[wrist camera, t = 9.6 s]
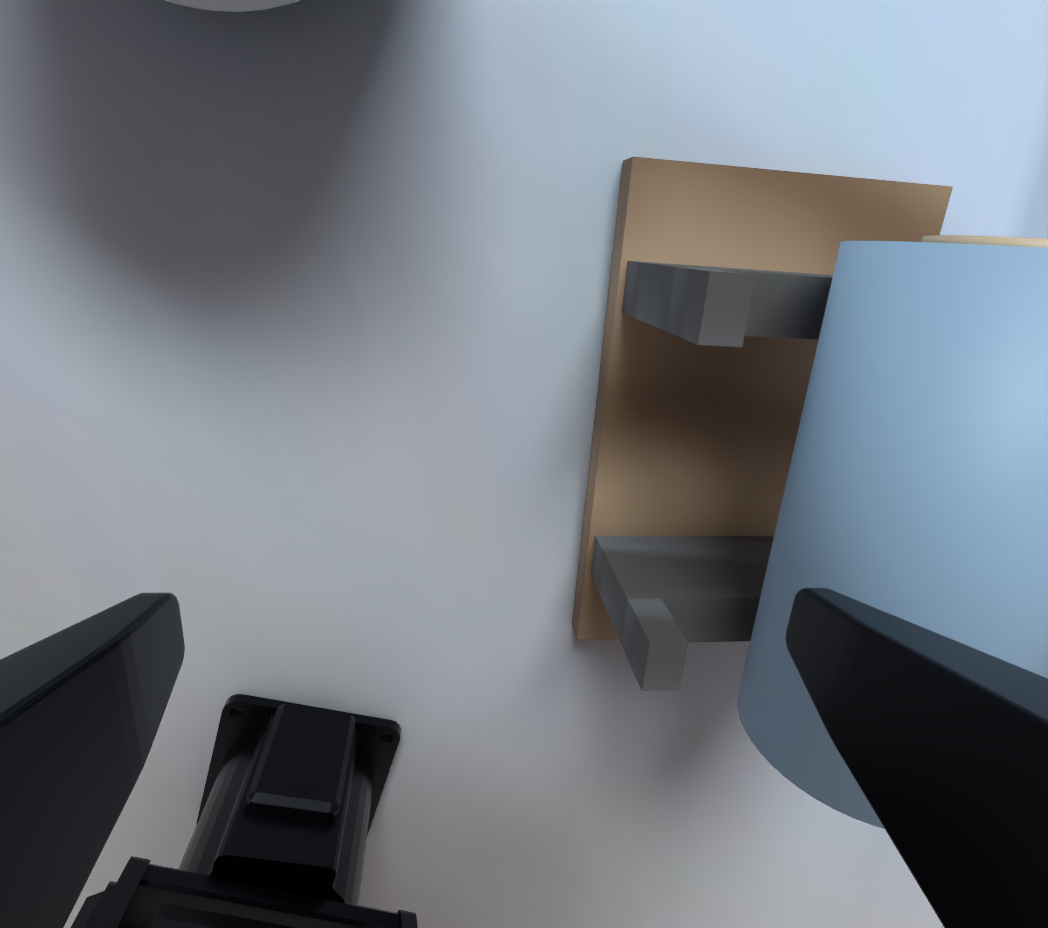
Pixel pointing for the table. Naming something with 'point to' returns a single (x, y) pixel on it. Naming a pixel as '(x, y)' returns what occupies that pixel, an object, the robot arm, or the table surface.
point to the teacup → (233, 4)
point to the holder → (710, 389)
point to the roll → (912, 475)
